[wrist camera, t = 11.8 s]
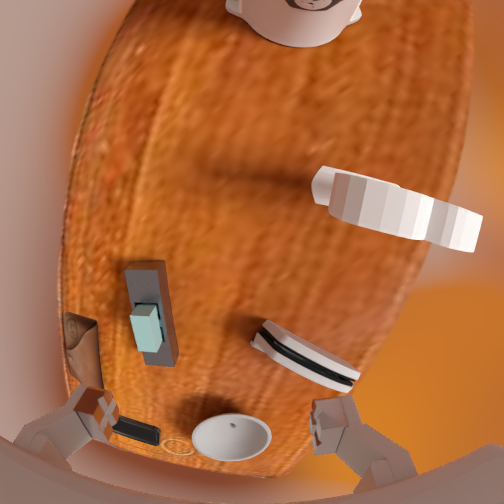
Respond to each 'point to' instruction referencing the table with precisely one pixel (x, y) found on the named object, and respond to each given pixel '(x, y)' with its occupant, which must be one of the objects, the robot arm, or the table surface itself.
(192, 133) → the table surface
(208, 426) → the dish
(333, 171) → the heart sculpture
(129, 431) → the phone
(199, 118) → the table surface
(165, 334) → the grey rectangular block
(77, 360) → the sunglasses case
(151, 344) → the pale teal plug block
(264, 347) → the napkin holder
